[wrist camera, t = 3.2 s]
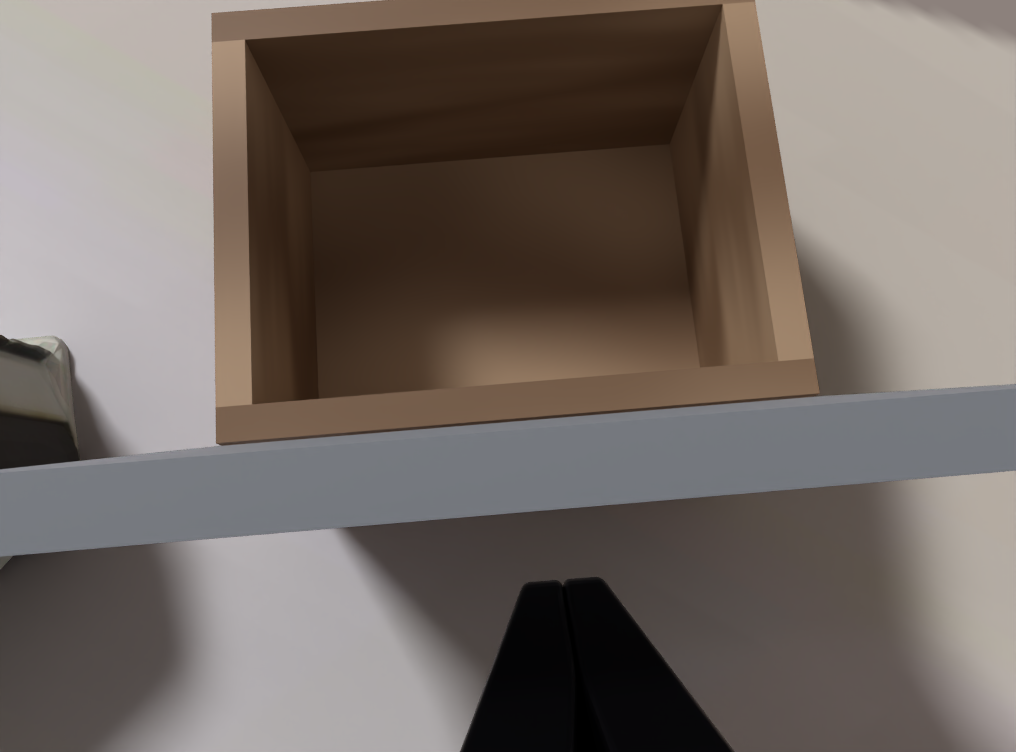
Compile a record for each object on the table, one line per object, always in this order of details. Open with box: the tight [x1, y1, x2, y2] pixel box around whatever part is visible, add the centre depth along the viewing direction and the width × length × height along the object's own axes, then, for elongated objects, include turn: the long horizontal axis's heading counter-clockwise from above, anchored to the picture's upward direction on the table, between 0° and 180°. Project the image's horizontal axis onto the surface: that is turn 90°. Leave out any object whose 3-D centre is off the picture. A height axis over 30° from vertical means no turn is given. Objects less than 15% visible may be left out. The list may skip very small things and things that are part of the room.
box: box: [212, 0, 820, 446], centre depth 18 cm, size 8×10×6 cm
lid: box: [0, 384, 1016, 557], centre depth 10 cm, size 8×10×1 cm
